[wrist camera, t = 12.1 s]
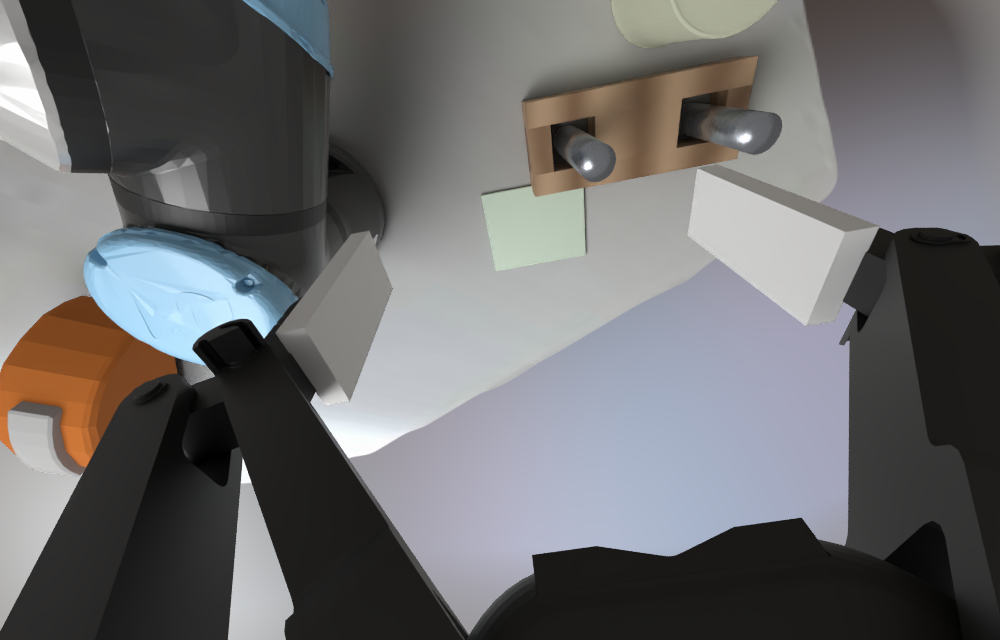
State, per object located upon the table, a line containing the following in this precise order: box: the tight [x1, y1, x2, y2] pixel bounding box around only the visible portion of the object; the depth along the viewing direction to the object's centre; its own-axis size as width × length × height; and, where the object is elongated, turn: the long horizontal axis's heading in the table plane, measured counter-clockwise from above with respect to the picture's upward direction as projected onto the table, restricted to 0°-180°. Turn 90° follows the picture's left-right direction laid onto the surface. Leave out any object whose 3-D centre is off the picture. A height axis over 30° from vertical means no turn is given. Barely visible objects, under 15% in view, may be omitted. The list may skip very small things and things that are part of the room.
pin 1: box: [554, 125, 616, 182], centre depth 34 cm, size 3×3×12 cm
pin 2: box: [678, 102, 782, 155], centre depth 33 cm, size 3×3×12 cm
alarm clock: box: [0, 296, 178, 476], centre depth 45 cm, size 23×9×17 cm, turn 159°
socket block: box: [522, 56, 758, 197], centre depth 37 cm, size 22×9×3 cm, turn 100°
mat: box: [481, 185, 586, 271], centre depth 44 cm, size 12×10×1 cm
